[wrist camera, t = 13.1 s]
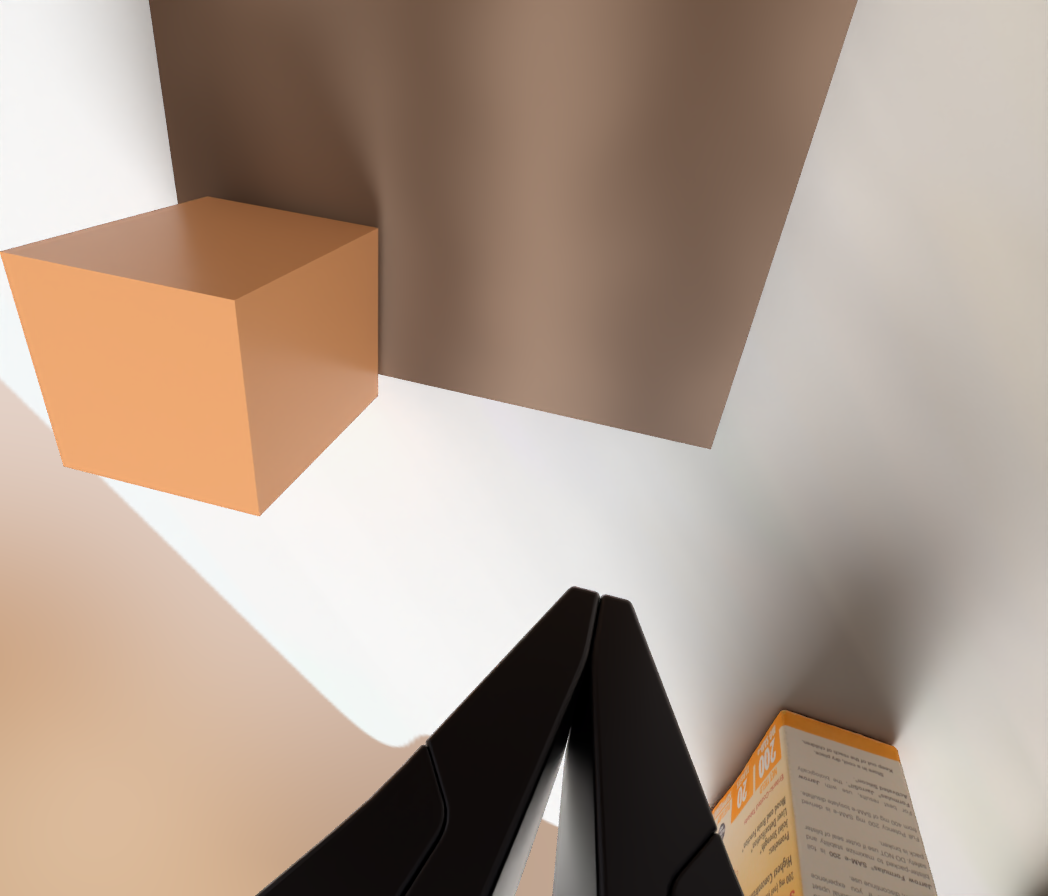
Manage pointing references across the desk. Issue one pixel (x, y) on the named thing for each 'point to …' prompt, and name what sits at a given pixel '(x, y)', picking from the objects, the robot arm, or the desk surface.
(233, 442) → the peach wooden cube
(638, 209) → the walnut board
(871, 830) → the supplement box
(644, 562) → the desk surface
